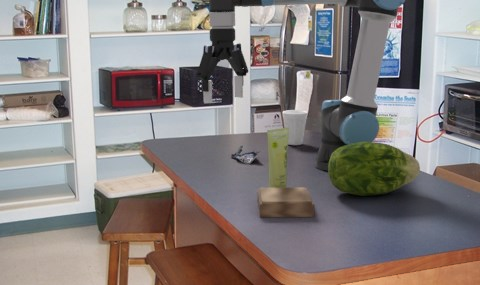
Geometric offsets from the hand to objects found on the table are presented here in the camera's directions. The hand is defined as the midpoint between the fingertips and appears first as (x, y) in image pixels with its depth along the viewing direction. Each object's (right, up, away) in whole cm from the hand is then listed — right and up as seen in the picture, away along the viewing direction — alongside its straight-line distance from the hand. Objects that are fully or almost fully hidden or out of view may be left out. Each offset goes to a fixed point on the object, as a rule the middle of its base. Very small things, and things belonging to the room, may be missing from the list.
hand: (223, 99), depth 187 cm
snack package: (+7, -19, +36) cm, 42 cm away
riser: (+17, -30, -18) cm, 39 cm away
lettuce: (+44, -28, -5) cm, 52 cm away
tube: (+16, -28, -5) cm, 32 cm away
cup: (+26, -14, +61) cm, 68 cm away
